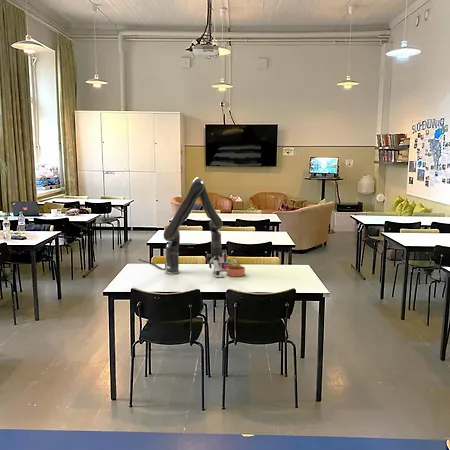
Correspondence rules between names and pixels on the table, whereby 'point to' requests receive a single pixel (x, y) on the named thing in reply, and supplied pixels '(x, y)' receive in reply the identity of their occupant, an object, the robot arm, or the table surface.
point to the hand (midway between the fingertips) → (216, 267)
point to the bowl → (235, 271)
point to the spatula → (217, 273)
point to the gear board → (225, 263)
